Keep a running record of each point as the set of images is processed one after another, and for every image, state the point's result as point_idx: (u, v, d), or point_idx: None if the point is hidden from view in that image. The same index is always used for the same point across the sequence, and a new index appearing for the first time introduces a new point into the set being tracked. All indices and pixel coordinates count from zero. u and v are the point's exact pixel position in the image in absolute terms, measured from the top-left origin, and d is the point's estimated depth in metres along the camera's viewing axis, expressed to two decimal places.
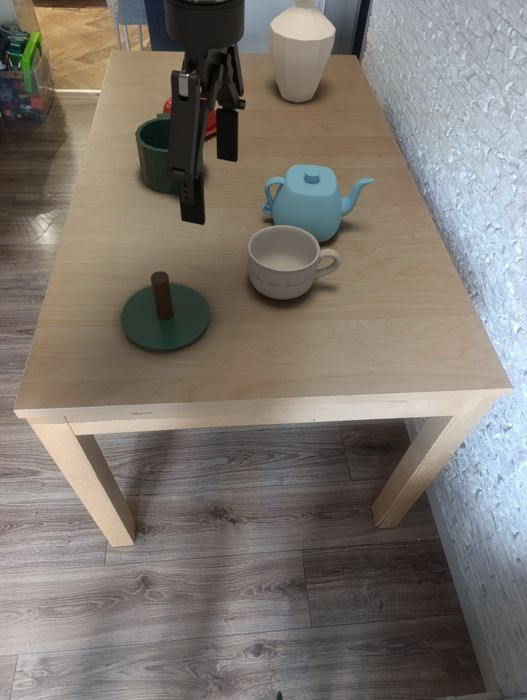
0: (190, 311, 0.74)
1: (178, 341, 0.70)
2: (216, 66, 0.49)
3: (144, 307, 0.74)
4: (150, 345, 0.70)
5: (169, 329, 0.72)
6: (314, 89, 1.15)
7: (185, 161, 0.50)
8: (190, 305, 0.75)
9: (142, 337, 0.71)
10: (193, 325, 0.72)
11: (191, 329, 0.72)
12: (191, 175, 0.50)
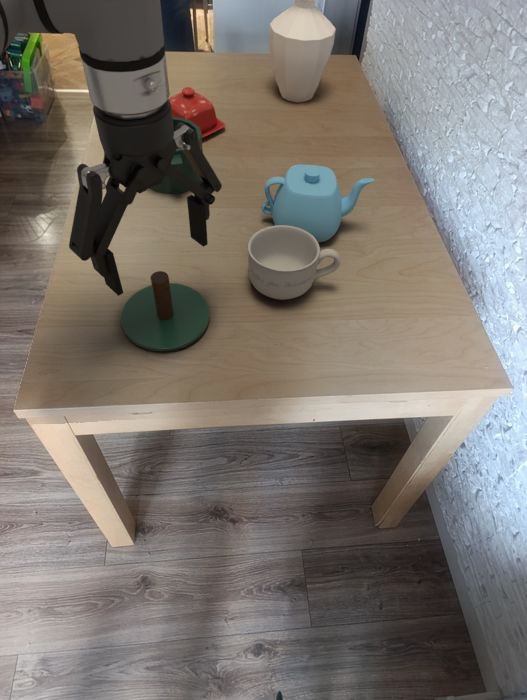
0: (190, 311, 0.74)
1: (178, 341, 0.70)
2: (137, 168, 0.52)
3: (144, 307, 0.74)
4: (150, 345, 0.70)
5: (169, 329, 0.72)
6: (314, 89, 1.15)
7: (80, 241, 0.54)
8: (190, 305, 0.75)
9: (142, 337, 0.71)
10: (193, 325, 0.72)
11: (191, 329, 0.72)
12: (85, 254, 0.54)
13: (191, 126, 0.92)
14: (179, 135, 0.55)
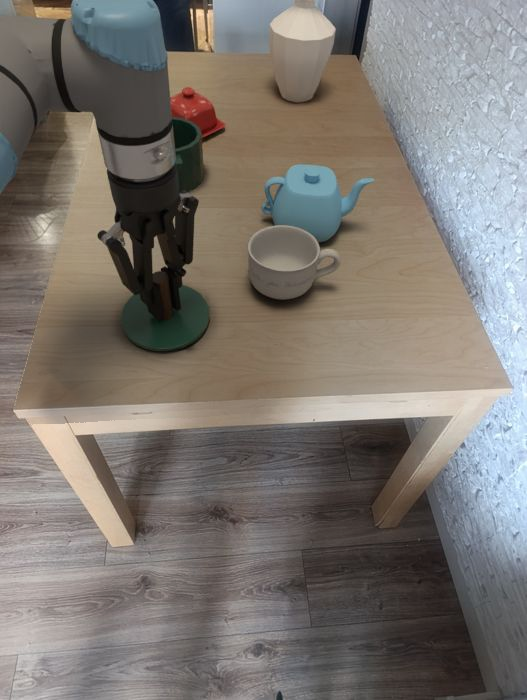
0: (190, 311, 0.74)
1: (178, 341, 0.70)
2: (144, 224, 0.57)
3: (144, 307, 0.74)
4: (150, 345, 0.70)
5: (169, 329, 0.72)
6: (314, 89, 1.15)
7: (127, 283, 0.63)
8: (190, 305, 0.75)
9: (142, 337, 0.71)
10: (193, 325, 0.72)
11: (191, 329, 0.72)
12: (135, 291, 0.64)
13: (191, 126, 0.92)
14: (184, 197, 0.61)
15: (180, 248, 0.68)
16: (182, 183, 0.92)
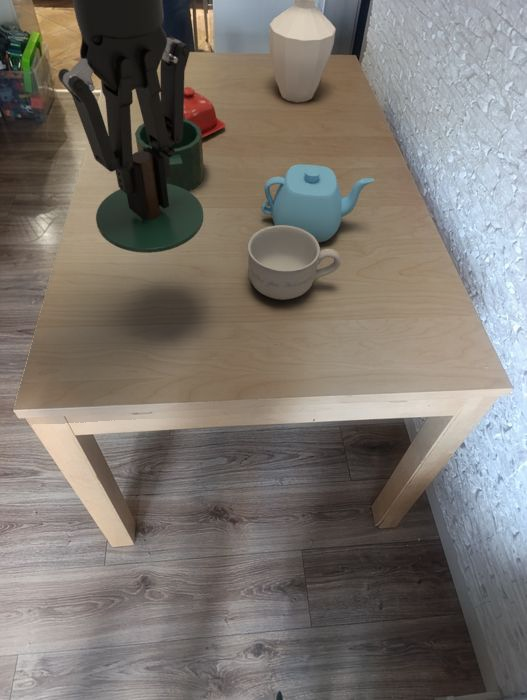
0: (180, 211, 0.61)
1: (164, 241, 0.58)
2: (118, 62, 0.45)
3: (125, 206, 0.61)
4: (131, 245, 0.57)
5: (154, 228, 0.59)
6: (314, 89, 1.15)
7: (100, 153, 0.50)
8: (180, 205, 0.62)
9: (120, 236, 0.58)
10: (183, 225, 0.60)
11: (181, 229, 0.59)
12: (110, 165, 0.51)
13: (191, 126, 0.92)
14: (171, 41, 0.49)
15: (167, 123, 0.56)
16: (182, 183, 0.92)
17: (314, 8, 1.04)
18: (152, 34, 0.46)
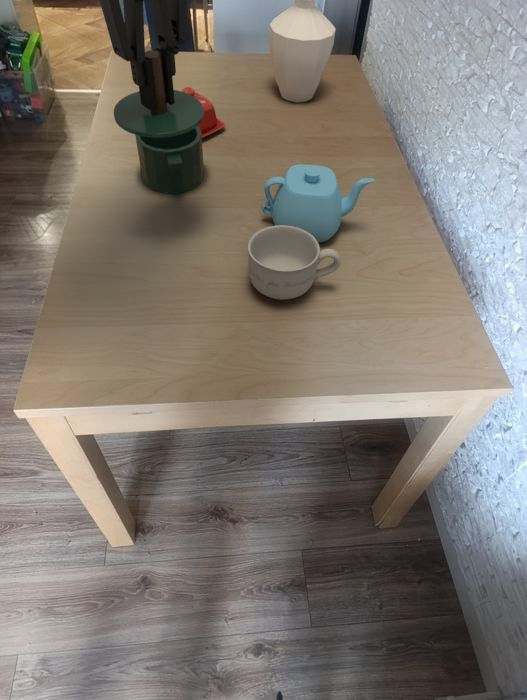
0: (184, 108, 0.73)
1: (171, 129, 0.69)
2: None
3: (137, 104, 0.73)
4: (143, 131, 0.69)
5: (162, 120, 0.71)
6: (314, 89, 1.15)
7: (118, 44, 0.62)
8: (184, 104, 0.73)
9: (134, 125, 0.69)
10: (187, 118, 0.71)
11: (185, 121, 0.71)
12: (127, 55, 0.63)
13: None
14: None
15: (173, 27, 0.67)
16: (182, 183, 0.92)
17: (314, 8, 1.04)
18: None
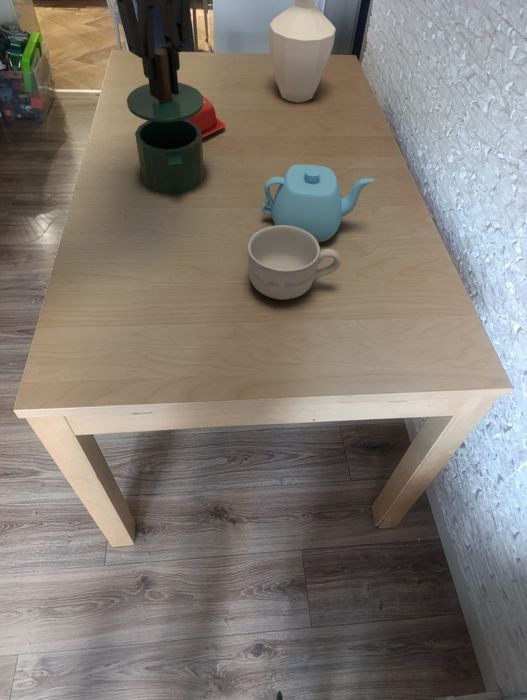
0: (187, 98, 0.85)
1: (176, 115, 0.82)
2: None
3: (147, 95, 0.85)
4: (153, 117, 0.81)
5: (169, 108, 0.83)
6: (314, 89, 1.15)
7: (133, 43, 0.74)
8: (187, 95, 0.86)
9: (145, 112, 0.82)
10: (189, 106, 0.84)
11: (187, 108, 0.83)
12: (140, 52, 0.75)
13: (191, 126, 0.92)
14: None
15: (178, 28, 0.79)
16: (182, 183, 0.92)
17: (314, 8, 1.04)
18: None
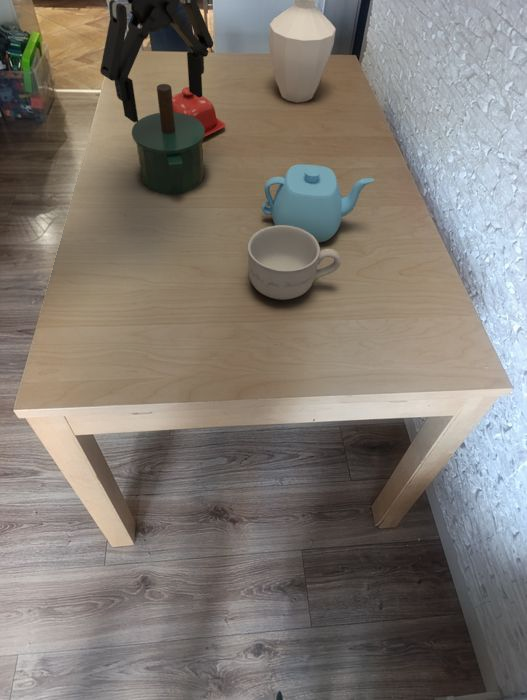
0: (189, 129, 0.90)
1: (179, 146, 0.86)
2: (152, 7, 0.72)
3: (151, 126, 0.90)
4: (156, 148, 0.85)
5: (171, 139, 0.87)
6: (314, 89, 1.15)
7: (109, 63, 0.74)
8: (189, 125, 0.90)
9: (149, 143, 0.86)
10: (191, 137, 0.88)
11: (189, 139, 0.88)
12: (112, 74, 0.74)
13: None
14: None
15: (201, 35, 0.83)
16: (182, 183, 0.92)
17: (314, 8, 1.04)
18: None
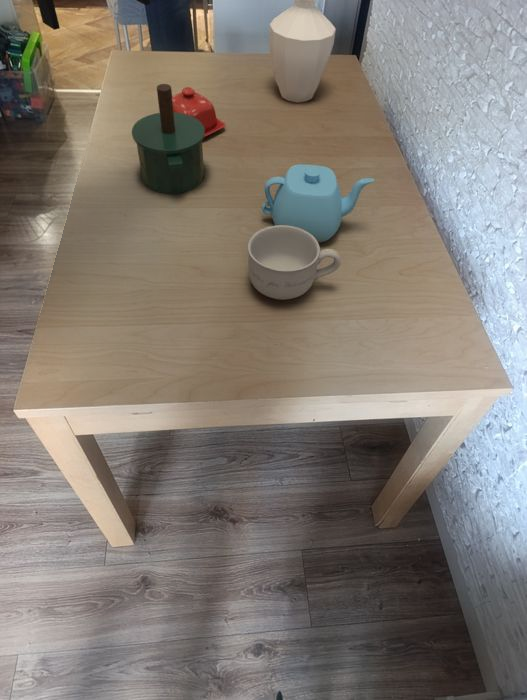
0: (189, 129, 0.90)
1: (179, 146, 0.86)
2: None
3: (151, 126, 0.90)
4: (156, 148, 0.85)
5: (171, 139, 0.87)
6: (314, 89, 1.15)
7: None
8: (189, 125, 0.90)
9: (149, 143, 0.86)
10: (191, 137, 0.88)
11: (189, 139, 0.88)
12: None
13: None
14: None
15: None
16: (182, 183, 0.92)
17: (314, 8, 1.04)
18: None
